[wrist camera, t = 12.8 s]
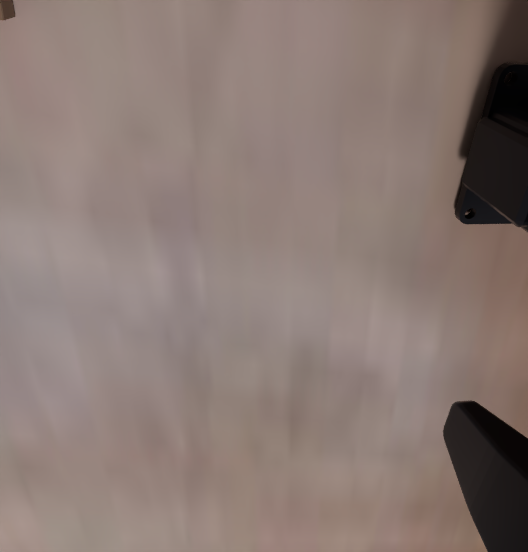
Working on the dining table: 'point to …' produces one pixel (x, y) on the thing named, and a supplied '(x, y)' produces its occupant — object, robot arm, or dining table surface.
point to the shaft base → (6, 9)
